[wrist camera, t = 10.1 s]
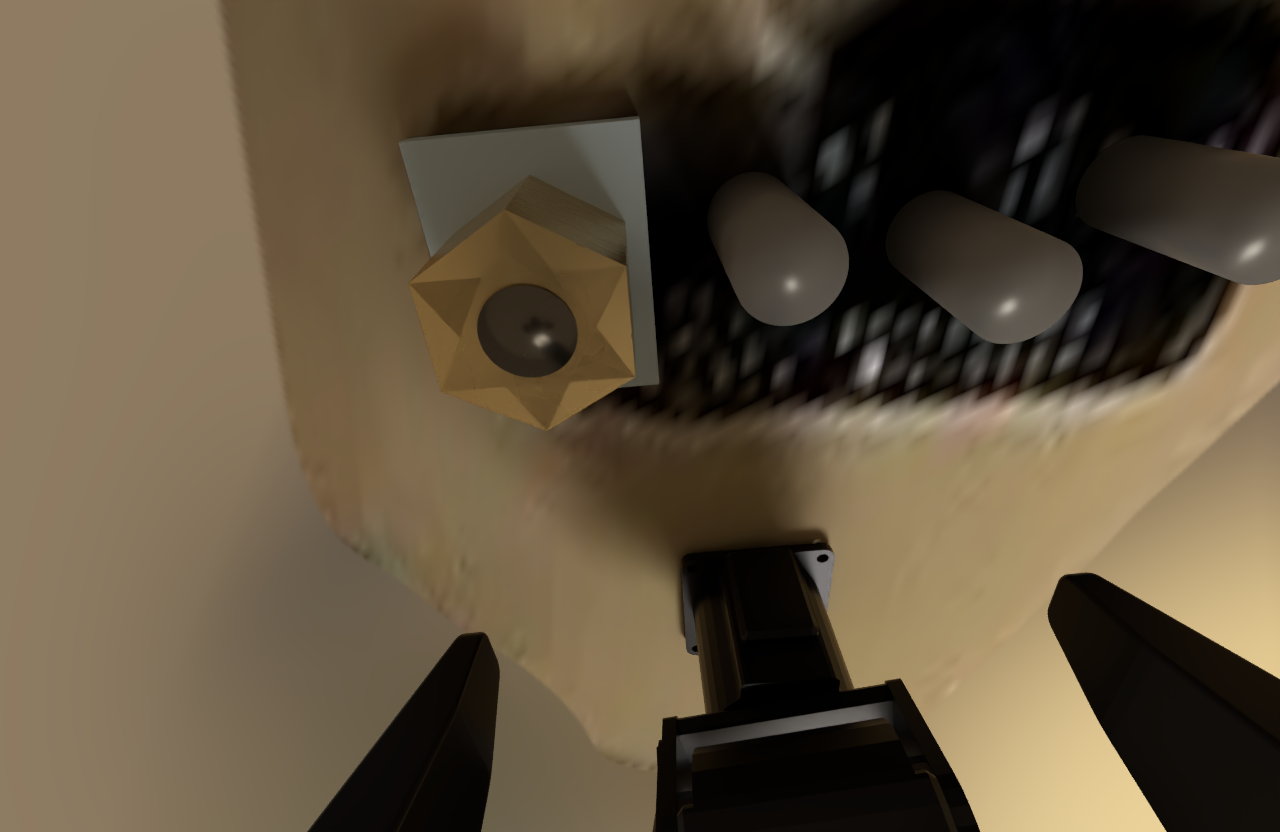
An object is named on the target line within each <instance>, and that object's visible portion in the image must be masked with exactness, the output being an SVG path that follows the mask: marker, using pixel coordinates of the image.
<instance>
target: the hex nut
mask: <svg viewBox="0 0 1280 832" xmlns="http://www.w3.org/2000/svg"><path fill="white" fill-rule="evenodd" d="M409 287H410V290H411V293H412V297H413V300H414V303H415V307H416V310H417V313H418V317H419V320H420V323H421V327H422V330H423V333H424V337H425V340H426V343H427V347H428V350H429V353H430V357H431V360H432V363H433V367H434V370H435V373H436V377H437V380H438V383H439V387H440V390H441V392H443V393H446V394H448V395H451V396H454V397H456V398H459V399H462V400H465V401H467V402H470V403H473V404H475V405H478V406H481V407H483V408H486V409H489V410H492V411H494V412H497V413H500V414H502V415H505V416H508V417H510V418H513V419H516V420H519V421H521V422H524V423H527V424H529V425H532V426H535V427H537V428H540V429H543V430H546V431H548V430H549V429H551V428H553V427H554V426H556V425H558V424H559V423H561V422H563V421H564V420H566V419H568V418H569V417H571V416H572V415H574V414H576V413H577V412H579V411H581V410H582V409H584V408H586V407H587V406H589V405H591V404H592V403H594V402H595V401H597V400H599V399H600V398H602V397H604V396H605V395H607V394H609V393H610V392H612V391H614V390H615V389H617V388H618V387H620V386H622V385H623V384H625V383H627V382H628V381H630V380H632V379H633V378H635V377H636V375H635V350H634V326H633V308H632V296H631V284H630V272H629V260H628V248H627V237H626V225H625V221H624V220H622V219H620V218H618V217H616V216H613V215H611V214H609V213H607V212H605V211H603V210H601V209H599V208H597V207H595V206H593V205H591V204H589V203H587V202H585V201H583V200H581V199H579V198H577V197H574V196H572V195H570V194H568V193H566V192H564V191H562V190H560V189H558V188H556V187H554V186H552V185H550V184H548V183H546V182H544V181H542V180H540V179H538V178H536V177H533V176H531V175H528V176H527V177H526V178H525V179H523V180H522V181H521V182H519V183H518V184H517V185H516V186H514V187H513V188H512V189H510V190H509V191H508V192H507V193H505V194H504V195H503V196H501V197H500V198H499V199H498V200H496V201H495V202H494V203H492V204H491V205H490V206H489V207H487V208H486V209H485V210H483V211H482V212H481V213H480V214H478V215H477V216H476V217H474V218H473V219H472V220H471V221H469V222H468V223H467V224H465V225H464V226H463V227H462V228H460V229H459V230H458V231H456V232H455V233H454V234H453V235H452V236H451V237H450V238H449V239H448V240H447V241H446V242H445V243H444V244H443V246H442V247H441V248H440V249H439V250H438V251H437V252H436V253H435V254H434V256H433V257H432V258H431V259H430V260H429V261H428V262H427V263H426V264H425V266H424V267H423V268H422V269H421V270H420V271H419V272H418V273H417V274H416V276H415V277H414V278H413V279H412V280H411V281H410V282H409Z"/></svg>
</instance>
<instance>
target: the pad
mask: <svg viewBox="0 0 1280 832" xmlns="http://www.w3.org/2000/svg"><path fill="white" fill-rule="evenodd" d="M398 143H399V146H400V150H401V153H402V157H403V161H404V164H405V168H406V171H407V175H408V178H409V182H410V185H411V189H412V192H413V196H414V199H415V203H416V206H417V210H418V214H419V217H420V221H421V224H422V228H423V231H424V235H425V238H426V242H427V245H428V249H429V252H430V256H431V258H432V257H433V256H434V254H435V253H436V252H437V251H438V250H439V249H440V248H441V247H442V246H443V244H444V243H445V242H446V241H447V240H448V239H449V238H450V237H451V236H452V235H453V234H454V233H455V232H456V231H458V230H459V229H460V228H462V227H463V226H464V225H465V224H467V223H468V222H469V221H471V220H472V219H473V218H474V217H476V216H477V215H478V214H480V213H481V212H482V211H483V210H485V209H486V208H487V207H489V206H490V205H491V204H492V203H494V202H495V201H496V200H498V199H499V198H500V197H501V196H503V195H504V194H505V193H507V192H508V191H509V190H510V189H512V188H513V187H514V186H516V185H517V184H518V183H519V182H521V181H522V180H523V179H525V178H526V177H527V176H528V175H531V176H533V177H536V178H538V179H540V180H542V181H544V182H546V183H548V184H550V185H552V186H554V187H556V188H558V189H560V190H562V191H564V192H566V193H568V194H570V195H572V196H574V197H577V198H579V199H581V200H583V201H585V202H587V203H589V204H591V205H593V206H595V207H597V208H599V209H601V210H603V211H605V212H607V213H609V214H611V215H613V216H616V217H618V218H620V219H622V220H624V221H625V225H626V237H627V248H628V260H629V272H630V284H631V296H632V308H633V326H634V350H635V375H636V377H635V378H633V379H632V380H630V381H628V382H627V383H625V384H623V385H622V386H620V387H618V388H621V387H632V386H644V385H656V384H659V372H658V359H657V346H656V332H655V319H654V306H653V292H652V279H651V265H650V252H649V239H648V225H647V212H646V199H645V185H644V172H643V158H642V145H641V132H640V119H639V116H634V117H623V118H613V119H602V120H592V121H582V122H571V123H561V124H550V125H540V126H530V127H519V128H509V129H498V130H488V131H478V132H467V133H457V134H446V135H436V136H426V137H415V138H407V139H405V140H403V141H400V142H398Z"/></svg>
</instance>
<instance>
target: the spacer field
mask: <svg viewBox="0 0 1280 832" xmlns="http://www.w3.org/2000/svg"><path fill="white" fill-rule="evenodd" d="M1075 205H1076V210H1077V213H1078V215H1079V217H1080V219H1081V220H1082V221H1083V222H1084V223H1086V224H1087V225H1089V226H1091V227H1094V228H1097V229H1099V230H1102V231H1104V232H1107V233H1110V234H1112V235H1115V236H1117V237H1120V238H1122V239H1125V240H1128V241H1130V242H1133V243H1135V244H1138V245H1141V246H1143V247H1146V248H1148V249H1151V250H1154V251H1156V252H1159V253H1161V254H1164V255H1167V256H1169V257H1172V258H1174V259H1177V260H1180V261H1182V262H1185V263H1187V264H1190V265H1193V266H1195V267H1198V268H1200V269H1203V270H1206V271H1208V272H1211V273H1213V274H1216V275H1219V276H1221V277H1224V278H1226V279H1229V280H1232V281H1234V282H1237V283H1240V284H1245V285H1259V284H1265V283H1269V282H1273V281H1276V280H1279V279H1280V158H1277V157H1271V156H1265V155H1259V154H1253V153H1247V152H1241V151H1236V150H1230V149H1224V148H1218V147H1212V146H1206V145H1200V144H1195V143H1189V142H1183V141H1177V140H1171V139H1165V138H1159V137H1154V136H1147V135H1138V136H1132V137H1129V138H1126V139H1123V140H1121V141H1119V142H1117V143H1115V144H1113V145H1112V146H1110V147H1108V148H1107V149H1106V150H1104V151H1103V152H1102V153H1101V154H1100V155H1099V156H1098V157H1097V158H1096V159H1095V160H1094V161H1093V162H1092V163H1091V164H1090V166H1089V167H1088V168H1087V170H1086V171H1085V173H1084V174H1083V176H1082V178H1081V180H1080V182H1079V185H1078V188H1077V192H1076V198H1075ZM707 228H708V233H709V236H710V238H711V241H712V243H713V245H714V247H715V249H716V251H717V254H718V256H719V258H720V260H721V262H722V265H723V267H724V269H725V271H726V273H727V275H728V278H729V280H730V282H731V284H732V286H733V288H734V291H735V293H736V295H737V297H738V299H739V301H740V303H741V305H742V306H743V307H744V309H745V310H746V311H747V312H748V313H749V314H750V315H751V316H753V317H754V318H756V319H758V320H759V321H761V322H764V323H767V324H771V325H776V326H790V325H796V324H799V323H803V322H805V321H808V320H810V319H812V318H814V317H816V316H817V315H819V314H820V313H822V312H823V311H824V310H825V309H827V308H828V307H829V306H830V305H831V304H832V303H833V302H834V300H835V299H836V298H837V296H838V295H839V293H840V291H841V290H842V288H843V286H844V283H845V281H846V277H847V274H848V268H849V256H848V250H847V246H846V244H845V241H844V239H843V237H842V236H841V234H840V233H839V232H838V230H837V229H836V228H835V227H834V226H832V225H831V224H830V223H829V222H828V221H827V220H825V219H824V218H823V217H822V216H821V215H820V214H818V213H817V212H816V211H815V210H814V209H813V208H811V207H810V206H809V205H808V204H807V203H806V202H804V201H803V200H802V199H801V198H800V197H799V196H797V195H796V194H795V193H794V192H793V191H792V190H790V189H789V188H788V187H787V186H786V185H785V184H783V183H782V182H781V181H780V180H779V179H777V178H776V177H774V176H772V175H770V174H767V173H764V172H746V173H742V174H739V175H737V176H735V177H733V178H731V179H730V180H728V181H727V182H726V183H724V184H723V185H722V186H721V187H720V188H719V189H718V191H717V192H716V193H715V195H714V197H713V198H712V201H711V203H710V205H709V209H708V213H707ZM885 246H886V253H887V256H888V259H889V261H890V263H891V264H892V265H893V266H894V267H895V268H896V269H897V270H898V271H899V272H901V273H902V274H903V275H904V276H906V277H907V278H908V279H909V280H910V281H912V282H913V283H914V284H915V285H917V286H918V287H919V288H920V289H922V290H923V291H924V292H925V293H926V294H928V295H929V296H930V297H931V298H933V299H934V300H935V301H936V302H938V303H939V304H940V305H941V306H942V307H944V308H945V309H946V310H947V311H949V312H950V313H951V314H952V315H953V316H955V317H956V318H957V319H958V320H960V321H961V322H962V323H963V324H965V325H966V326H967V327H968V328H969V329H971V330H972V331H973V332H974V333H976V334H977V335H978V336H979V337H981V338H983V339H984V340H987V341H989V342H993V343H999V344H1010V343H1017V342H1021V341H1024V340H1027V339H1030V338H1032V337H1034V336H1036V335H1038V334H1040V333H1042V332H1044V331H1045V330H1047V329H1048V328H1050V327H1051V326H1052V325H1053V324H1055V323H1056V322H1057V321H1058V320H1059V319H1060V318H1061V317H1062V316H1063V315H1064V314H1065V313H1066V312H1067V310H1068V309H1069V308H1070V306H1071V305H1072V303H1073V302H1074V300H1075V298H1076V296H1077V294H1078V292H1079V289H1080V286H1081V282H1082V276H1083V268H1082V262H1081V259H1080V257H1079V255H1078V253H1077V252H1076V250H1075V249H1074V248H1073V247H1072V246H1071V245H1069V244H1068V243H1066V242H1064V241H1062V240H1060V239H1057V238H1055V237H1053V236H1051V235H1048V234H1046V233H1044V232H1041V231H1039V230H1037V229H1035V228H1032V227H1030V226H1028V225H1026V224H1023V223H1021V222H1019V221H1017V220H1014V219H1012V218H1010V217H1008V216H1005V215H1003V214H1001V213H999V212H996V211H994V210H992V209H990V208H987V207H985V206H983V205H981V204H978V203H976V202H974V201H971V200H969V199H967V198H965V197H962V196H960V195H958V194H956V193H953V192H950V191H945V190H936V191H930V192H926V193H924V194H921V195H919V196H917V197H915V198H913V199H912V200H911V201H909V202H908V203H907V204H906V205H904V206H903V207H902V208H901V209H900V210H899V212H898V213H897V214H896V216H895V217H894V219H893V220H892V222H891V224H890V226H889V229H888V232H887V236H886V243H885Z"/></svg>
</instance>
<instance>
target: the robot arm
mask: <svg viewBox="0 0 1280 832" xmlns="http://www.w3.org/2000/svg"><path fill="white" fill-rule="evenodd" d="M822 554H823V555H822ZM819 555H820V556H819ZM834 558H835V557H834V553H833V551H832V548H831V547H830V545H828V544H826V543H816V544H803V545H791V546H778V547H765V548H752V549H740V550H727V551H714V552H701V553H691V554H687V555H685V556H683V558H682V559H681V577H682V592H683V608H684V623H685V639H686V649H687V652H688V653H690V654H692V655H698V656H699V664H700V672H701V679H702V687H703V695H704V703H705V711H706V714H702V715H696V716H690V717H684V718H678V717H677V716H674V717H668V718H663V725H662V740H659V744H658V747H657V766H658V771H657V799H656V814H655V820H654V826H653V832H980V830H979V827H978V825H977V822H976V820H975V817H974V815H973V812H972V810H971V807H970V805H969V803H968V800H967V798H966V796H965V794H964V792H963V789H962V787H961V785H960V783H959V782H958V780H957V778H956V776H955V774H954V772H953V770H952V768H951V767H950V765H949V763H948V761H947V760H946V758H945V756H944V754H943V753H942V751H941V749H940V747H939V745H938V744H937V742H936V740H935V738H934V737H933V735H932V733H931V731H930V730H929V728H928V726H927V724H926V722H925V721H924V719H923V717H922V715H921V714H920V712H919V710H918V708H917V707H916V705H915V703H914V701H913V699H912V698H911V696H910V694H909V692H908V691H907V689H906V687H905V685H904V684H903V682H902V680H901V679H900V678H899V679H893V680H887V681H885V684H880V685H874V686H868V687H862V688H857V689H854V687H853V684H852V681H851V678H850V676H849V673H848V670H847V667H846V665H845V662H844V659H843V656H842V653H841V651H840V648H839V645H838V642H837V640H836V637H835V634H834V631H833V629H832V626H831V623H830V620H829V617H828V615H827V608H828V600H829V593H830V586H831V579H832V572H833V565H834ZM692 564H695V565H693V566H691V565H692ZM1048 619H1049V623H1050V625H1051V628H1052V630H1053V632H1054V634H1055V636H1056V638H1057V640H1058V642H1059V644H1060V646H1061V648H1062V650H1063V652H1064V654H1065V656H1066V658H1067V660H1068V662H1069V664H1070V666H1071V668H1072V670H1073V672H1074V674H1075V676H1076V678H1077V680H1078V682H1079V684H1080V686H1081V688H1082V690H1083V692H1084V694H1085V696H1086V698H1087V700H1088V702H1089V704H1090V706H1091V708H1092V710H1093V712H1094V714H1095V715H1096V717H1097V719H1098V721H1099V723H1100V725H1101V726H1102V728H1103V730H1104V731H1105V733H1106V735H1107V736H1108V738H1109V740H1110V741H1111V743H1112V745H1113V746H1114V748H1115V749H1116V751H1117V752H1118V754H1119V756H1120V758H1121V759H1122V760H1123V762H1124V764H1125V765H1126V767H1127V769H1128V770H1129V772H1130V774H1131V775H1132V777H1133V778H1134V780H1135V782H1136V783H1137V785H1138V786H1139V788H1140V790H1141V791H1142V793H1143V795H1144V796H1145V798H1146V799H1147V801H1148V803H1149V804H1150V805H1151V807H1152V809H1153V811H1154V812H1155V814H1156V815H1157V817H1158V819H1159V820H1160V822H1161V823H1162V825H1163V827H1164V828H1165V830H1166V831H1167V832H1280V679H1278V678H1277V677H1275V676H1273V675H1272V674H1270V673H1268V672H1266V671H1265V670H1263V669H1261V668H1259V667H1258V666H1256V665H1254V664H1252V663H1251V662H1249V661H1247V660H1245V659H1244V658H1242V657H1240V656H1238V655H1237V654H1235V653H1233V652H1231V651H1230V650H1228V649H1226V648H1224V647H1223V646H1221V645H1219V644H1217V643H1215V642H1214V641H1212V640H1210V639H1209V638H1207V637H1205V636H1203V635H1202V634H1200V633H1198V632H1196V631H1195V630H1193V629H1191V628H1189V627H1188V626H1186V625H1184V624H1182V623H1180V622H1179V621H1177V620H1175V619H1173V618H1172V617H1170V616H1169V615H1167V614H1165V613H1163V612H1162V611H1160V610H1158V609H1156V608H1155V607H1153V606H1151V605H1149V604H1147V603H1146V602H1144V601H1142V600H1141V599H1139V598H1137V597H1135V596H1134V595H1132V594H1130V593H1128V592H1127V591H1125V590H1123V589H1121V588H1120V587H1117V586H1116V585H1114V584H1113V583H1111V582H1109V581H1107V580H1106V579H1104V578H1102V577H1100V576H1098V575H1096V574H1093V573H1076V574H1067V575H1064V576H1062V577H1061V578H1060V579H1059V581H1058V584H1057V586H1056V589H1055V591H1054V594H1053V597H1052V599H1051V602H1050V604H1049V607H1048ZM499 679H500V670H499V664H498V660H497V658H496V655H495V653H494V650H493V648H492V645H491V643H490V641H489V638H488V636H487V635H486V634H485V633H484V632H476V633H466V634H462V635H460V636H458V637H457V638H456V639H455V641H454V642H453V643H452V644H451V646H450V647H449V648H448V650H447V651H446V652H445V653H444V655H443V656H442V657H441V659H440V660H439V661H438V663H437V664H436V665H435V667H434V668H433V669H432V670H431V672H430V673H429V674H428V676H427V677H426V678H425V679H424V681H423V682H422V683H421V685H420V686H419V687H418V689H417V690H416V691H415V692H414V694H413V695H412V696H411V698H410V699H409V700H408V701H407V703H406V704H405V705H404V707H403V708H402V709H401V711H400V712H399V713H398V715H397V716H396V717H395V718H394V720H393V721H392V722H391V724H390V725H389V726H388V727H387V729H386V730H385V731H384V733H383V734H382V735H381V737H380V738H379V739H378V741H377V742H376V743H375V744H374V746H373V747H372V748H371V750H370V751H369V752H368V753H367V755H366V756H365V757H364V759H363V760H362V761H361V763H360V764H359V765H358V767H357V768H356V769H355V770H354V772H353V773H352V775H351V776H350V777H349V778H348V779H347V781H346V782H345V783H344V785H343V786H342V787H341V789H340V790H339V791H338V793H337V794H336V795H335V796H334V798H333V799H332V800H331V802H330V803H329V804H328V806H327V807H326V808H325V809H324V811H323V812H322V813H321V815H320V816H319V817H318V818H317V820H316V821H315V822H314V824H313V825H312V826H311V828H310V829H309V830H308V832H481V829H482V824H483V819H484V813H485V808H486V803H487V797H488V792H489V786H490V780H491V772H492V760H493V750H494V738H495V726H496V715H497V703H498V691H499Z"/></svg>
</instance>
